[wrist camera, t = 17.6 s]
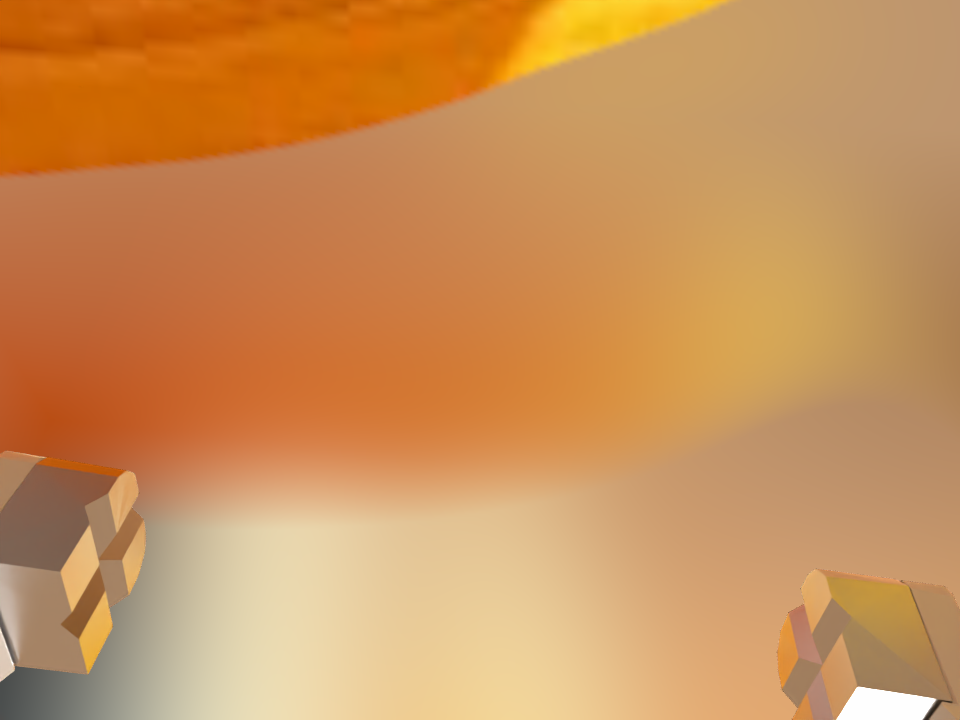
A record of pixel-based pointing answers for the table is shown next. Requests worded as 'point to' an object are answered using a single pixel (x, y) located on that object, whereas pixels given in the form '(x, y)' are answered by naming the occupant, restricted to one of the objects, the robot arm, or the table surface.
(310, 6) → the table surface
